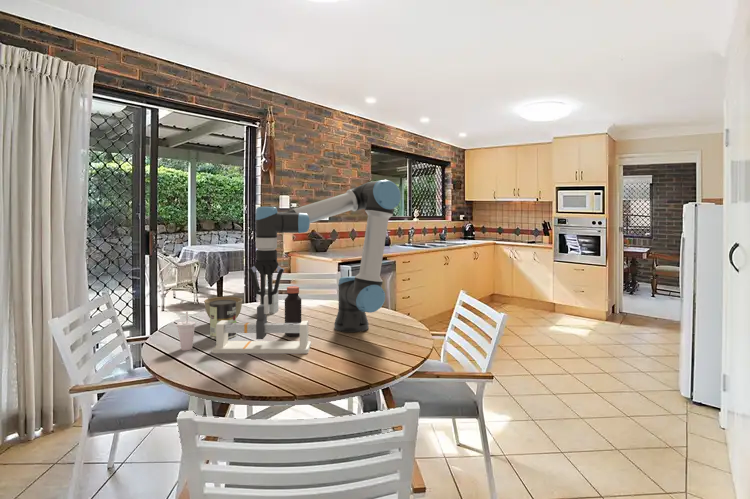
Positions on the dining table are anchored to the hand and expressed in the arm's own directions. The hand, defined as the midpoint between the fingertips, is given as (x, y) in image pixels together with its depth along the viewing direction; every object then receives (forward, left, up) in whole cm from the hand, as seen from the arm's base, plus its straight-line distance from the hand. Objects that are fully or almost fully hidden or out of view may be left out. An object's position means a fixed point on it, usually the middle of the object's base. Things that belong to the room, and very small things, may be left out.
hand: (266, 313), depth 158 cm
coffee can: (+21, -17, -14) cm, 31 cm away
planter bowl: (+27, -37, -14) cm, 48 cm away
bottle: (-7, -19, -14) cm, 24 cm away
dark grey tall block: (+2, 0, -9) cm, 9 cm away
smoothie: (+29, 0, -14) cm, 32 cm away
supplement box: (+12, -61, -14) cm, 63 cm away
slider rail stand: (+1, 0, -14) cm, 14 cm away
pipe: (+1, 0, -7) cm, 7 cm away
